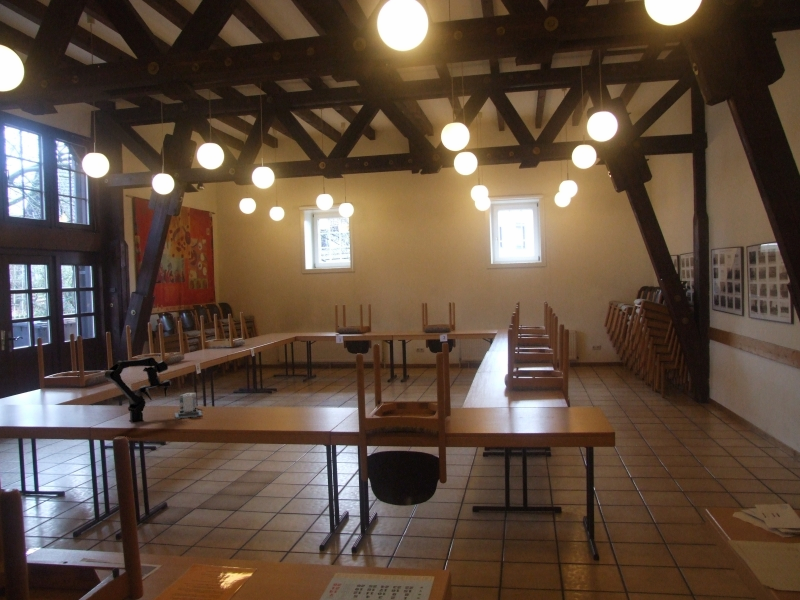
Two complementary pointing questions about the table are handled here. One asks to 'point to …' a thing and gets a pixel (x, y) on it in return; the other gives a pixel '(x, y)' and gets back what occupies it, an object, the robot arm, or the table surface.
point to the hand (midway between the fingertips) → (158, 398)
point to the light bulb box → (192, 400)
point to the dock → (188, 414)
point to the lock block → (187, 403)
